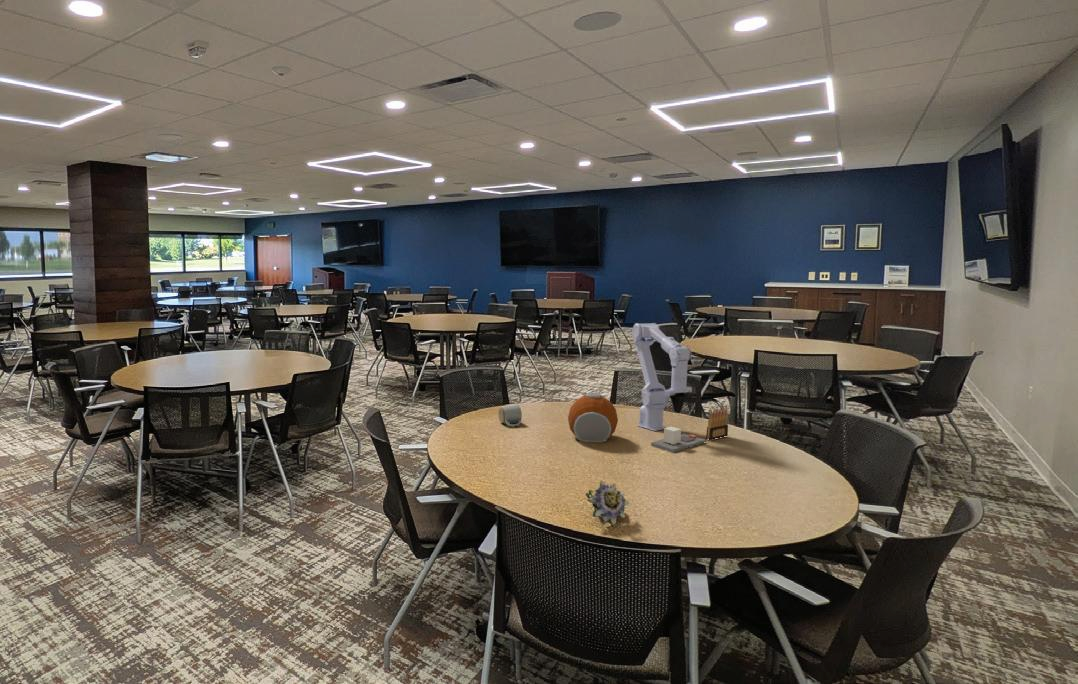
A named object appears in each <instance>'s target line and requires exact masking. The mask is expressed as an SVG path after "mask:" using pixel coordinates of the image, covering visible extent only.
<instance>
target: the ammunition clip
mask: <svg viewBox="0 0 1078 684" xmlns="http://www.w3.org/2000/svg"><path fill="white" fill-rule="evenodd" d="M728 432H729V424H728V408H727V406H726V407H725V408H724V407H722V409H721V408H719V409H718V408H716V410H715V408H714V409H713V410H712V409H710V411H709V415H708V423H707V426H706V436H705V440H706V439H709V440H711V439H715V438H720V437H724V436H728V434H729V433H728ZM709 440H708V441H709Z"/></svg>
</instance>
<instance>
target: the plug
mask: <svg viewBox="0 0 1078 684" xmlns="http://www.w3.org/2000/svg"><path fill="white" fill-rule="evenodd" d="M681 434H682V429H681V428H678V427H674V426H667V428H664V429H663V439H664V440H663V441H664V442H666V444H669V443H670V444H669V445H672V446H674V445H675V444H676V443H680V441H681Z"/></svg>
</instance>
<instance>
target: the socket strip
mask: <svg viewBox="0 0 1078 684" xmlns="http://www.w3.org/2000/svg"><path fill="white" fill-rule="evenodd" d="M663 440H664V438H662V439H659V440H655V441H652V442H650V446H651V447H654V448H657V449H661V450H663V451H666V450H667V452H669V451H670V453H672V452H674V453H677V452H679V450H680V451H683V450H682V449H684V450H686V449H685V448H687V449H689V448H688V447H690V448H692V447H691V446H694V445H697V446H699V445H698V444H700V445H702V444H701V443H704V442H706V441H707V440H706V438H705V439H704V438H700V437H699V436H698V437H697V435H695V434H686V433H681V441H680V443H676V445H675V446H672V445H671V444H666V442H664V441H663ZM706 443H707V442H706ZM704 444H705V443H704ZM694 447H695V446H694ZM676 451H677V452H676Z"/></svg>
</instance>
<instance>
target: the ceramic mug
mask: <svg viewBox="0 0 1078 684" xmlns="http://www.w3.org/2000/svg"><path fill="white" fill-rule="evenodd" d="M522 417H523V413H522V409H521V406H520V404H511V405H506V406H502V407H500V408H499V409H498V419H499V422H500V423H501V424H502V423H504V425H507V427H510V426H518V427H519V426H520V425H521V422H522ZM510 423H511V424H510Z"/></svg>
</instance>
